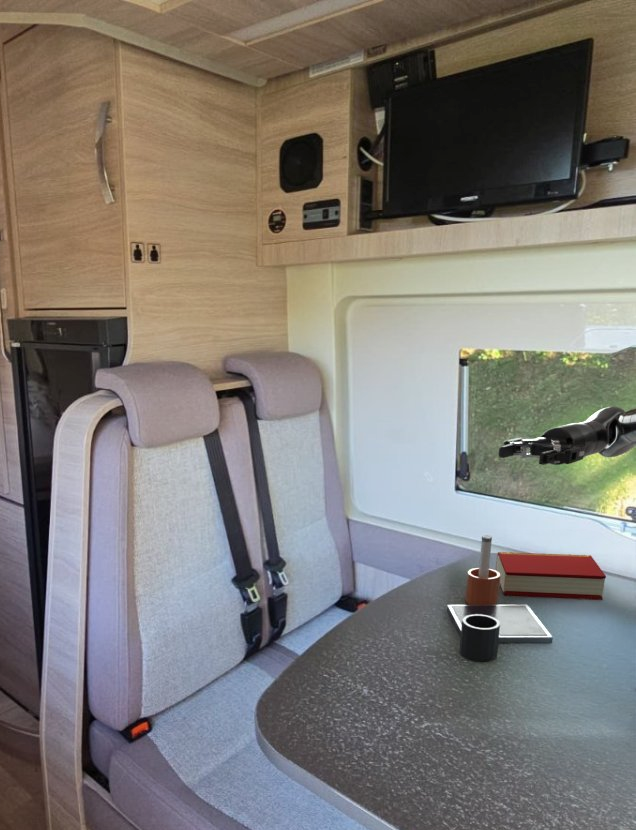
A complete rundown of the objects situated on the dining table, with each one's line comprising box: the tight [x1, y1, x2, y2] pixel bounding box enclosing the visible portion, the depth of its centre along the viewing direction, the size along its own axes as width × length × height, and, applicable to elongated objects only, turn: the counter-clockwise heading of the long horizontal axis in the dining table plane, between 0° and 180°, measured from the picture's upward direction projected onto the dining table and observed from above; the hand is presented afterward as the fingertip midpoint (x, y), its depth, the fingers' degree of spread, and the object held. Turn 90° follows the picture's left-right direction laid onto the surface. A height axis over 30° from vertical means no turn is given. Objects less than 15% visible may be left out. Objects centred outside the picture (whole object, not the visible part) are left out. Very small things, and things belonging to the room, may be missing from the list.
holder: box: [459, 614, 500, 663], centre depth 122 cm, size 6×6×6 cm
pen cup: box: [464, 567, 500, 605], centre depth 142 cm, size 6×6×6 cm
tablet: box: [446, 604, 554, 644], centre depth 132 cm, size 15×14×1 cm
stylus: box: [478, 534, 493, 578], centre depth 140 cm, size 2×2×13 cm
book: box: [495, 551, 607, 601], centre depth 148 cm, size 18×13×5 cm
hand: (520, 455), depth 137 cm, fingers open, 8 cm apart
